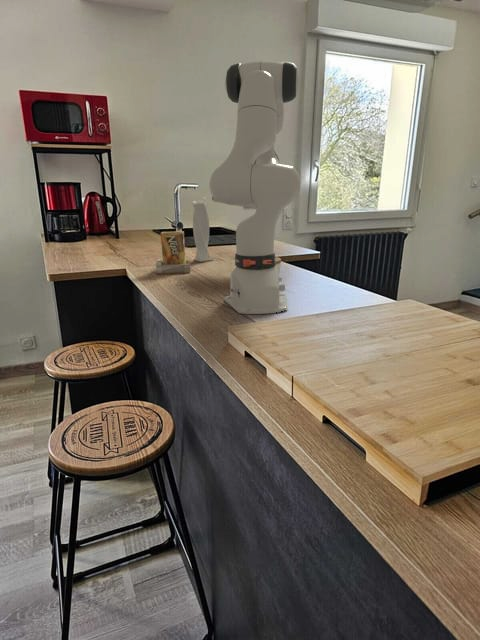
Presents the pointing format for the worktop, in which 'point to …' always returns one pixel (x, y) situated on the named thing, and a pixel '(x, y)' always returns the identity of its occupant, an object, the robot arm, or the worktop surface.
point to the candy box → (173, 247)
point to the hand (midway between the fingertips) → (212, 198)
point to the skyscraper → (201, 231)
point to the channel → (172, 268)
